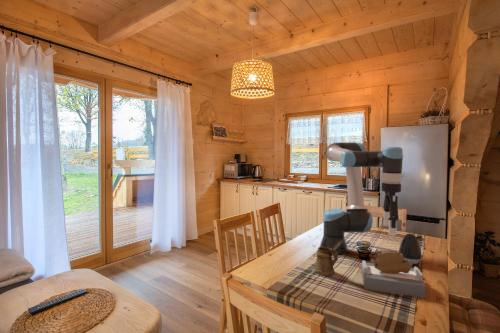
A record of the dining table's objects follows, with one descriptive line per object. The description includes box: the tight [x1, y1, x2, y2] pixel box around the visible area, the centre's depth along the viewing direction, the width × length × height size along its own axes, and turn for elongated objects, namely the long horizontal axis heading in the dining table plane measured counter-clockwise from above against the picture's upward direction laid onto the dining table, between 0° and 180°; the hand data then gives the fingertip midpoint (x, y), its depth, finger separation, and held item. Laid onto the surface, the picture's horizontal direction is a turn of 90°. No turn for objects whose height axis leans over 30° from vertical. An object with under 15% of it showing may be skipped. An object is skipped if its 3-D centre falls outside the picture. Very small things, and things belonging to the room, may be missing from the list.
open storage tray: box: [360, 260, 427, 299], centre depth 114 cm, size 22×16×7 cm
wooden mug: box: [313, 240, 343, 277], centre depth 124 cm, size 9×14×18 cm, turn 45°
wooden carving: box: [370, 249, 413, 274], centre depth 113 cm, size 16×5×10 cm, turn 83°
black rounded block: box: [398, 232, 423, 265], centre depth 136 cm, size 10×10×15 cm
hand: (389, 230), depth 116 cm, fingers open, 13 cm apart
